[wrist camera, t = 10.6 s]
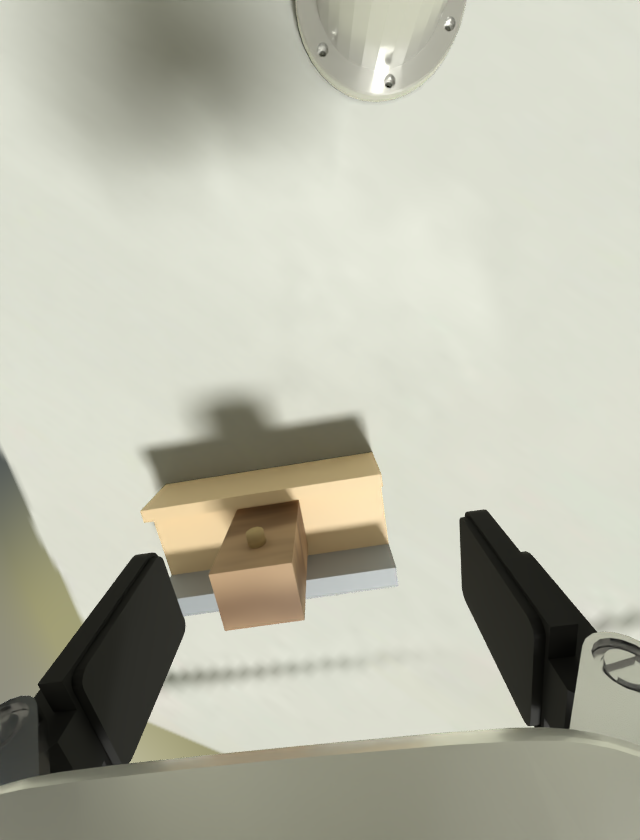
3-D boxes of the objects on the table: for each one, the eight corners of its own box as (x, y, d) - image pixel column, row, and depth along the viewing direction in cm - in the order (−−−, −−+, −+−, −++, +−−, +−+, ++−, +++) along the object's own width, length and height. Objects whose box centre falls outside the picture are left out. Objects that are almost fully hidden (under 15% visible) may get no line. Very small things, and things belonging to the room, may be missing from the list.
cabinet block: (234, 500, 33) (204, 562, 25) (297, 490, 33) (289, 550, 24) (248, 554, 35) (225, 630, 26) (308, 545, 35) (304, 619, 26)
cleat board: (165, 484, 37) (128, 523, 30) (372, 452, 36) (385, 484, 29) (190, 565, 40) (162, 619, 33) (383, 537, 39) (398, 586, 32)
